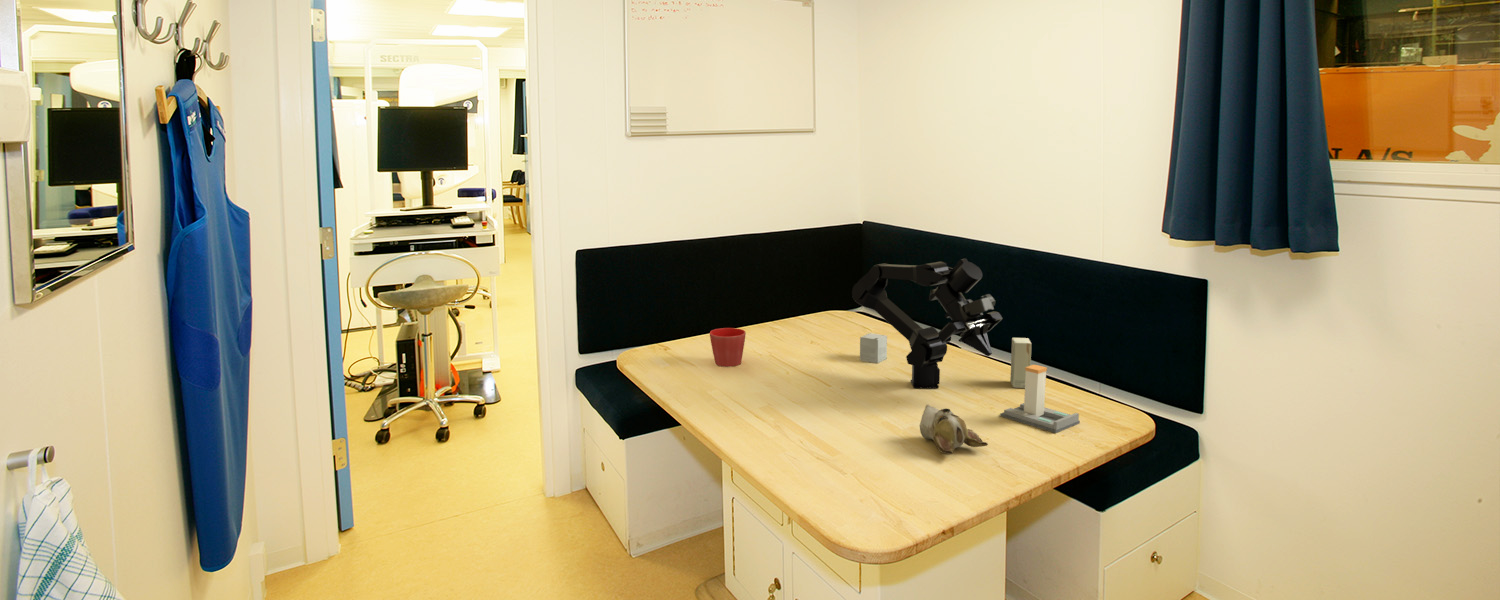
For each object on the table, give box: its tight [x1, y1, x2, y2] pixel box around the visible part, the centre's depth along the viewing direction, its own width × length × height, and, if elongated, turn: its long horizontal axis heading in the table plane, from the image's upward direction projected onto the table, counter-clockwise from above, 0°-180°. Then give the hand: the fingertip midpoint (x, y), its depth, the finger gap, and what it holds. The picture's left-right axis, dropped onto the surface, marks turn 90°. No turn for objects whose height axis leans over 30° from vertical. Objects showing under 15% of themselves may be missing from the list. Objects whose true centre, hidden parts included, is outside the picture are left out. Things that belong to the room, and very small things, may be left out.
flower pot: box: [709, 327, 747, 368], centre depth 237 cm, size 11×11×10 cm
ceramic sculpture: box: [919, 404, 989, 455], centre depth 172 cm, size 11×9×15 cm
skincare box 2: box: [1010, 337, 1032, 389], centre depth 211 cm, size 6×4×12 cm
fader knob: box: [1023, 364, 1048, 416], centre depth 187 cm, size 3×3×11 cm
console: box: [999, 402, 1081, 434], centre depth 187 cm, size 15×10×2 cm, turn 37°
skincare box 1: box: [859, 332, 888, 364], centre depth 238 cm, size 6×6×7 cm
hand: (990, 355), depth 196 cm, fingers closed
